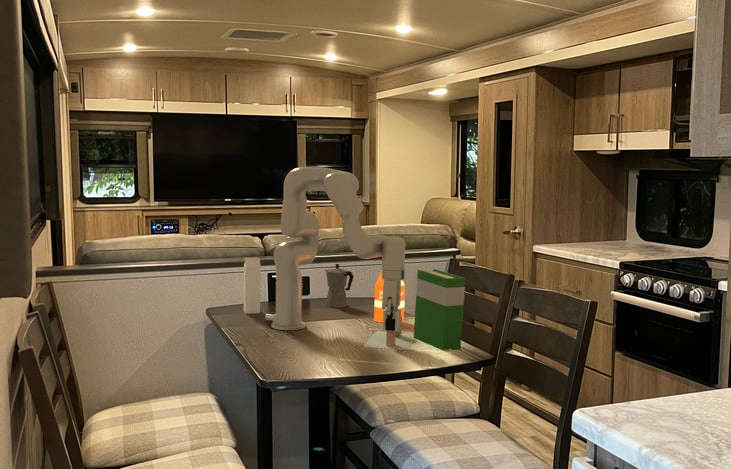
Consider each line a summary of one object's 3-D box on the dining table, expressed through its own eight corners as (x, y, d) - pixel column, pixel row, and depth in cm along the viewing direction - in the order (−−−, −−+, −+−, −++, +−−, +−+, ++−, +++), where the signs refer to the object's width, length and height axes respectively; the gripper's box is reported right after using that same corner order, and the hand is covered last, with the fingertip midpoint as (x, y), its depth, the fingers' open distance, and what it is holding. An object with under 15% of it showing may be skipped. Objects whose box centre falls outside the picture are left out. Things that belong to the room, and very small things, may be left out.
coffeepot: (317, 304, 290) (318, 263, 289) (332, 301, 298) (333, 261, 296) (344, 310, 281) (346, 267, 279) (359, 307, 288) (360, 265, 286)
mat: (362, 347, 224) (362, 346, 224) (376, 332, 246) (376, 331, 246) (407, 351, 221) (407, 350, 221) (417, 335, 243) (417, 334, 243)
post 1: (386, 345, 226) (386, 325, 225) (387, 343, 228) (388, 323, 228) (393, 346, 225) (394, 325, 225) (395, 344, 228) (395, 324, 227)
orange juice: (392, 325, 257) (394, 273, 255) (373, 321, 262) (375, 270, 260) (404, 322, 263) (405, 271, 261) (385, 318, 268) (387, 268, 266)
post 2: (392, 336, 239) (393, 316, 238) (394, 334, 241) (394, 315, 240) (400, 337, 238) (400, 317, 237) (401, 335, 241) (402, 315, 240)
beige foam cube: (382, 330, 224) (383, 310, 224) (385, 326, 229) (386, 307, 229) (398, 331, 223) (398, 311, 222) (400, 328, 228) (401, 308, 228)
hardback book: (413, 337, 238) (417, 269, 235) (431, 335, 241) (435, 269, 239) (442, 350, 223) (447, 278, 220) (460, 349, 226) (465, 278, 223)
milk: (260, 313, 271) (261, 258, 269) (244, 313, 270) (245, 259, 267) (258, 310, 277) (259, 256, 275) (243, 310, 275) (244, 256, 273)
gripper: (386, 270, 234) (385, 322, 235) (376, 277, 217) (375, 333, 219) (408, 271, 232) (406, 323, 234) (400, 279, 215) (398, 335, 217)
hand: (391, 327), depth 226 cm, fingers closed on beige foam cube, 5 cm apart
